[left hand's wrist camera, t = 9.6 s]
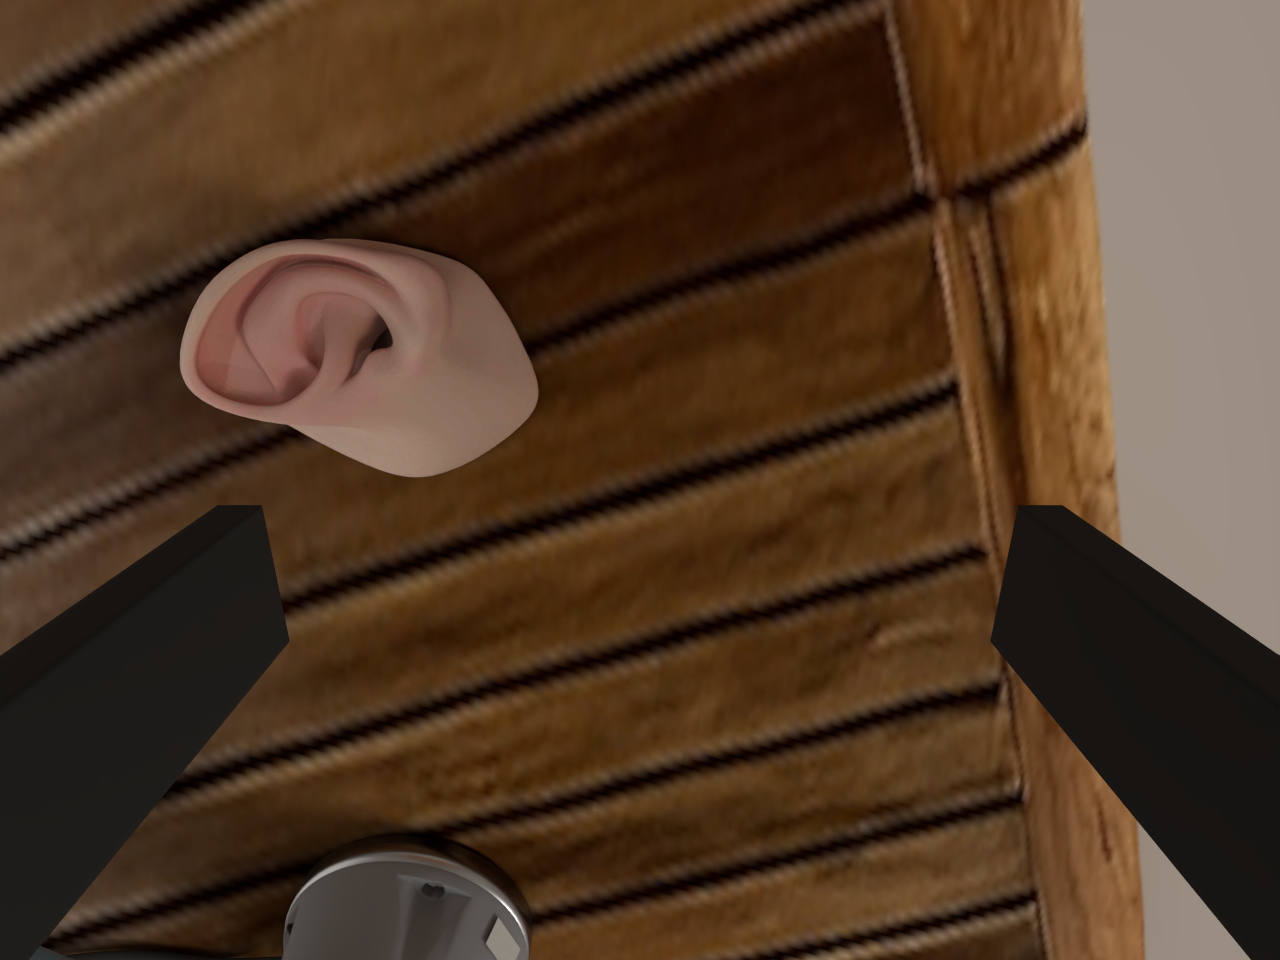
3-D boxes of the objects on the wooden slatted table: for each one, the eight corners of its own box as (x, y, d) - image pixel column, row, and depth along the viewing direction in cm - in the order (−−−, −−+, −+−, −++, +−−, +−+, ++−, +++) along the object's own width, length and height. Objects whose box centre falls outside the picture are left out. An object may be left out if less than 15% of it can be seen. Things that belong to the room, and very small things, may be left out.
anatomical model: (568, 377, 28) (410, 568, 32) (578, 356, 32) (435, 529, 36) (278, 141, 25) (137, 379, 29) (325, 148, 29) (196, 358, 32)
